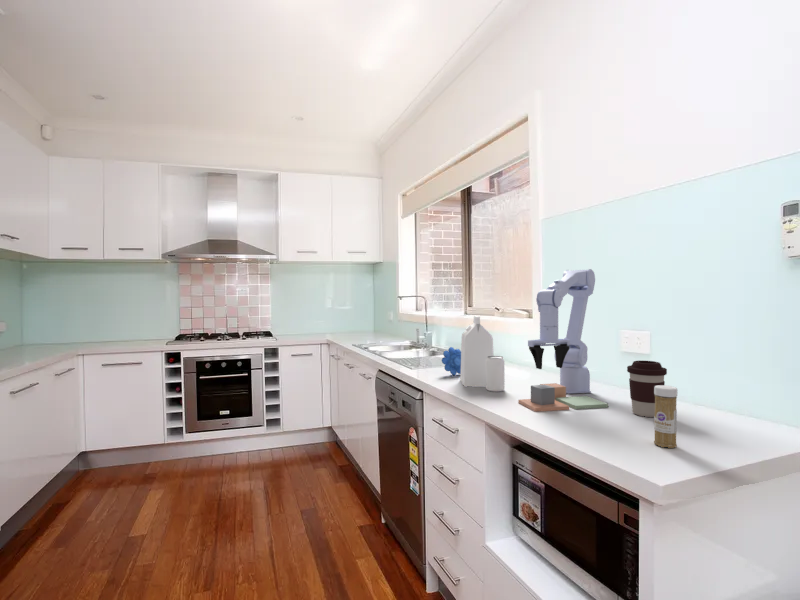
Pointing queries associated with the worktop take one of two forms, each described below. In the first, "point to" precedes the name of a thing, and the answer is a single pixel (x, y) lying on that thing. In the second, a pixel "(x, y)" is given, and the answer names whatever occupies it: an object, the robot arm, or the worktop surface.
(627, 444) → the worktop surface
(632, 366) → the coffee cup
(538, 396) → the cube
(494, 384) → the can
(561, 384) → the robot arm
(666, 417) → the sprinkles bottle
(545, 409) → the terracotta pad
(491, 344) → the milk
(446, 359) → the grapes
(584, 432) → the worktop surface
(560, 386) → the block
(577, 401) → the sage pad
